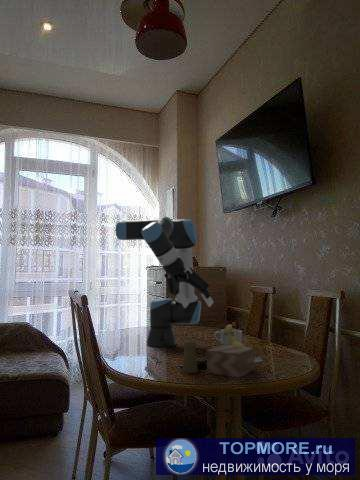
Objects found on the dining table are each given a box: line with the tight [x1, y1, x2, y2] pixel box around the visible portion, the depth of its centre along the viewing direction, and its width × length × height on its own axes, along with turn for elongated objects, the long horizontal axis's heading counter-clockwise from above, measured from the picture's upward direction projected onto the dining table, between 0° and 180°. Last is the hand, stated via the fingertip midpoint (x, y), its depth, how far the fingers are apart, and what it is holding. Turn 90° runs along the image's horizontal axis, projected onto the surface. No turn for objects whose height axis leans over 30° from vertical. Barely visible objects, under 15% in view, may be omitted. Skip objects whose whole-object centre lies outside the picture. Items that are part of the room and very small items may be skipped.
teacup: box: [213, 328, 243, 345], centre depth 182 cm, size 14×11×8 cm
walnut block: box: [206, 344, 255, 378], centre depth 136 cm, size 13×13×8 cm
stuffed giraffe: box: [224, 321, 264, 363], centre depth 157 cm, size 16×18×16 cm
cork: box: [181, 340, 199, 374], centre depth 137 cm, size 6×6×11 cm
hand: (198, 305), depth 140 cm, fingers open, 13 cm apart
